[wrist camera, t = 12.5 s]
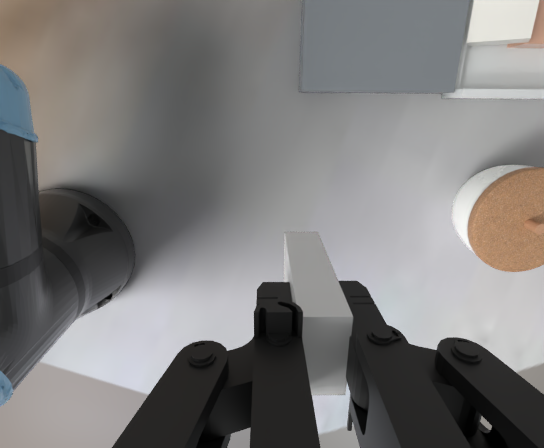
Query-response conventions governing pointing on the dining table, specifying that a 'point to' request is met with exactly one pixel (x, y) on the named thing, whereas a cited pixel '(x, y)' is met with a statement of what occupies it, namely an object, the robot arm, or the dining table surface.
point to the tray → (498, 71)
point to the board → (381, 45)
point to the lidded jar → (503, 216)
